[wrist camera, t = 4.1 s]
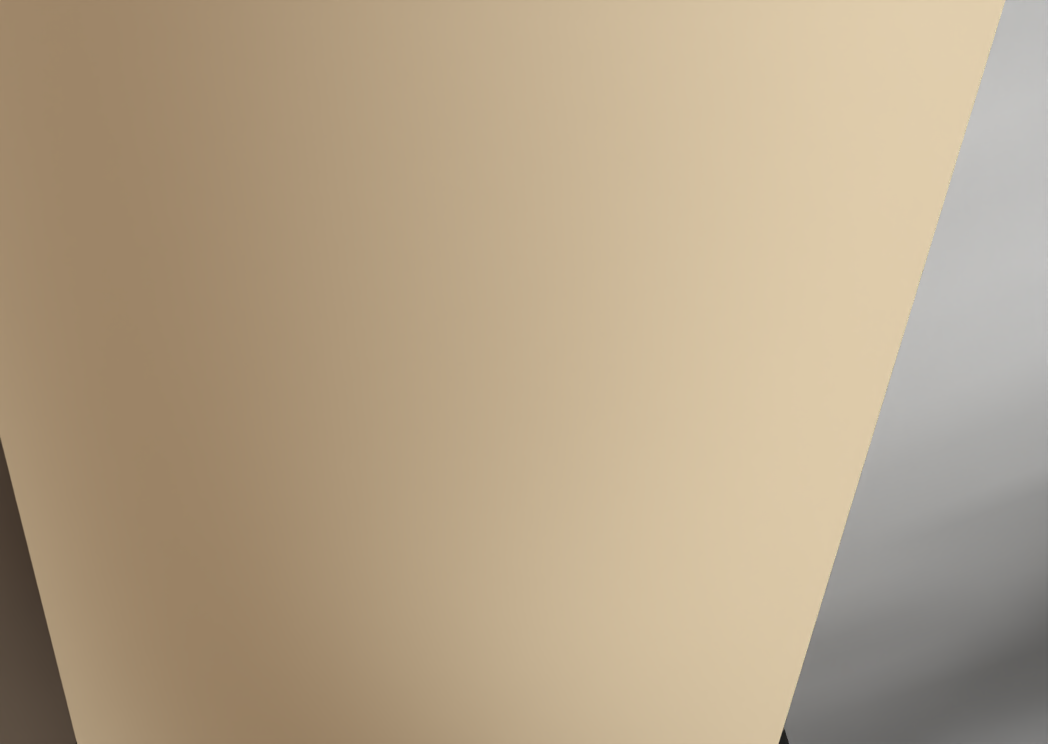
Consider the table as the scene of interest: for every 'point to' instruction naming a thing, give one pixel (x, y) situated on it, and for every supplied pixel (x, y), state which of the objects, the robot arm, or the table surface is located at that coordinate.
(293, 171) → the rail
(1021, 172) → the table surface
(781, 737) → the robot arm
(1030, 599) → the table surface
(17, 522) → the board
